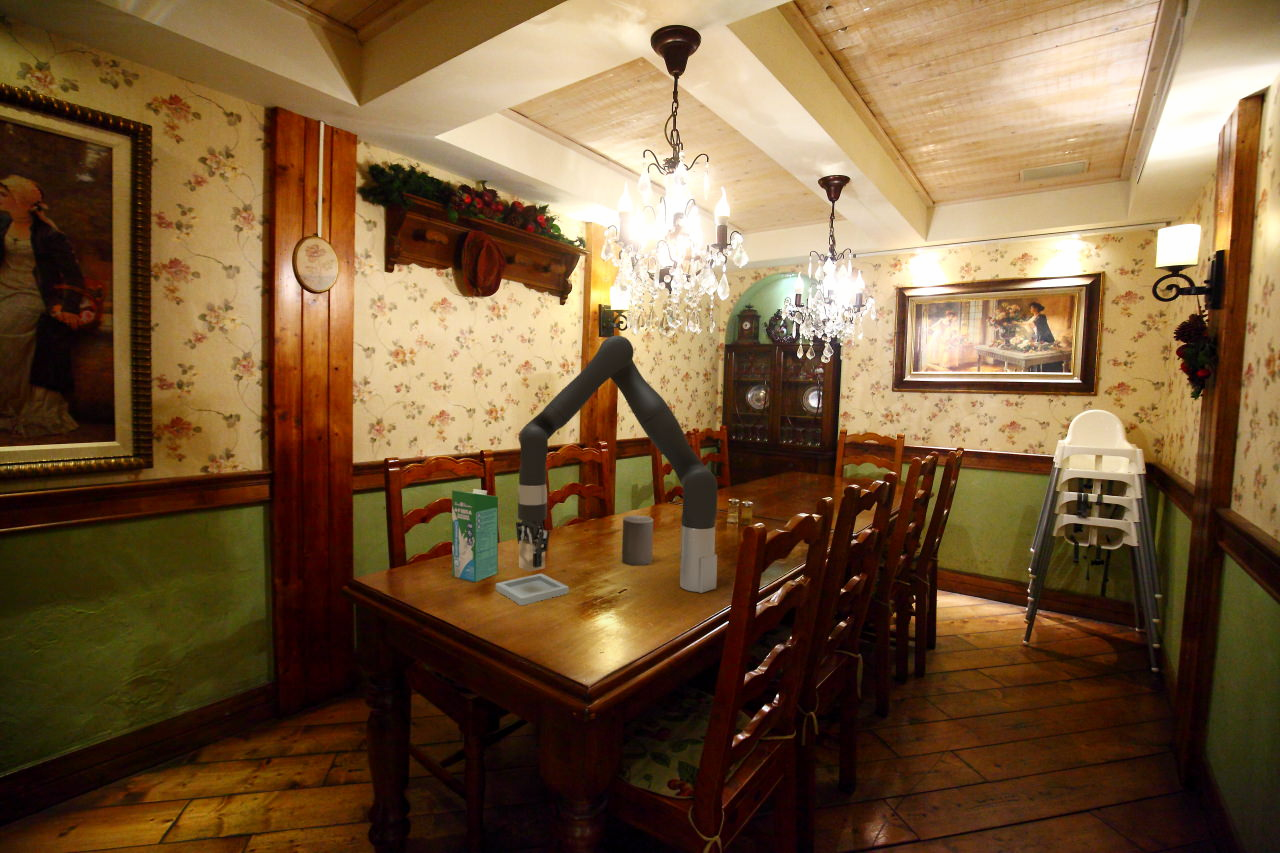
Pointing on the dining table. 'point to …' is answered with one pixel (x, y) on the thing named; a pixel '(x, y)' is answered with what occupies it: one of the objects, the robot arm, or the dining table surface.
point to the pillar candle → (637, 540)
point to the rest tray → (531, 589)
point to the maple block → (528, 556)
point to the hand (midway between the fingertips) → (531, 563)
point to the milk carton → (474, 535)
